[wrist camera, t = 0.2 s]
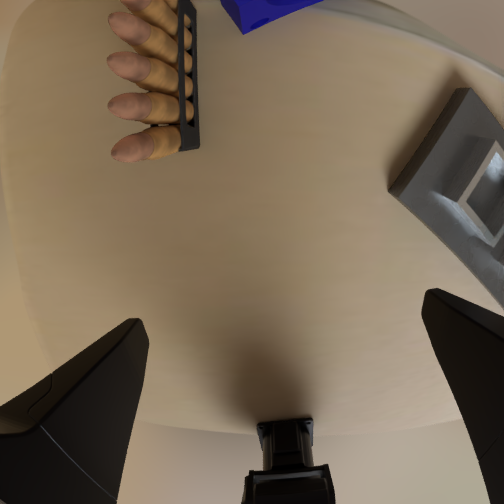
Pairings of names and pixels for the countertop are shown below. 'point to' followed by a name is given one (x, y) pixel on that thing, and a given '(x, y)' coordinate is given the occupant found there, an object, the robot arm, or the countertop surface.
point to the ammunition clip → (157, 78)
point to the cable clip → (261, 11)
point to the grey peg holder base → (462, 187)
